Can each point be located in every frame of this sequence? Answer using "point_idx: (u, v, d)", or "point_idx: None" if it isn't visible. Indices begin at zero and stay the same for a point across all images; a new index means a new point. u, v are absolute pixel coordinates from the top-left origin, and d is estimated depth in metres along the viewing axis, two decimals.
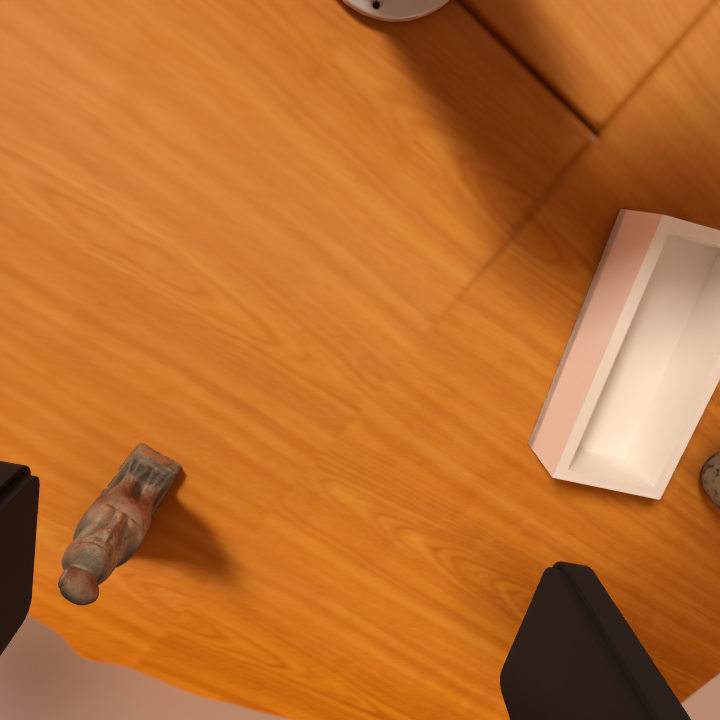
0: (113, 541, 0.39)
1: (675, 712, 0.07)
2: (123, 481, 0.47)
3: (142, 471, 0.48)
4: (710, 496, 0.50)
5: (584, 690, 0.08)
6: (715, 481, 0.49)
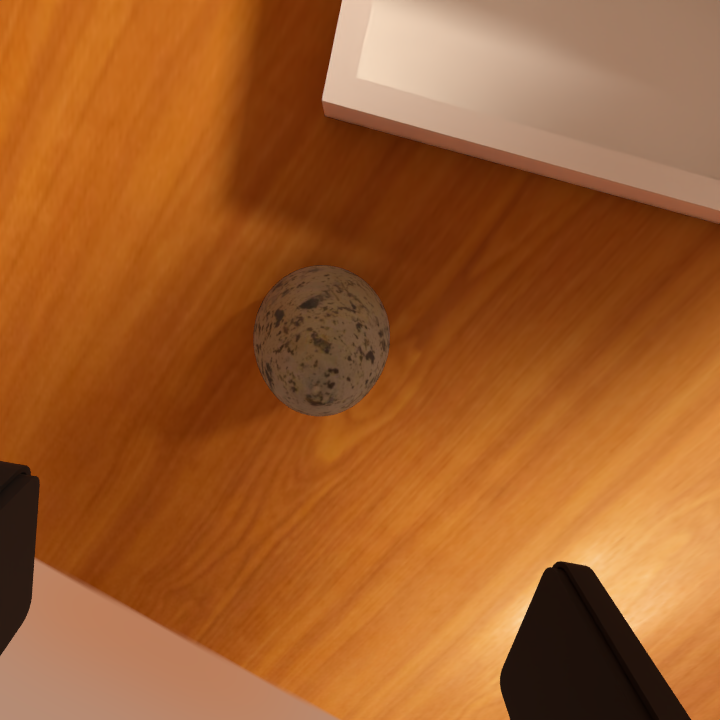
0: None
1: (675, 712, 0.07)
2: None
3: None
4: (292, 273, 0.23)
5: (584, 690, 0.08)
6: (334, 269, 0.23)
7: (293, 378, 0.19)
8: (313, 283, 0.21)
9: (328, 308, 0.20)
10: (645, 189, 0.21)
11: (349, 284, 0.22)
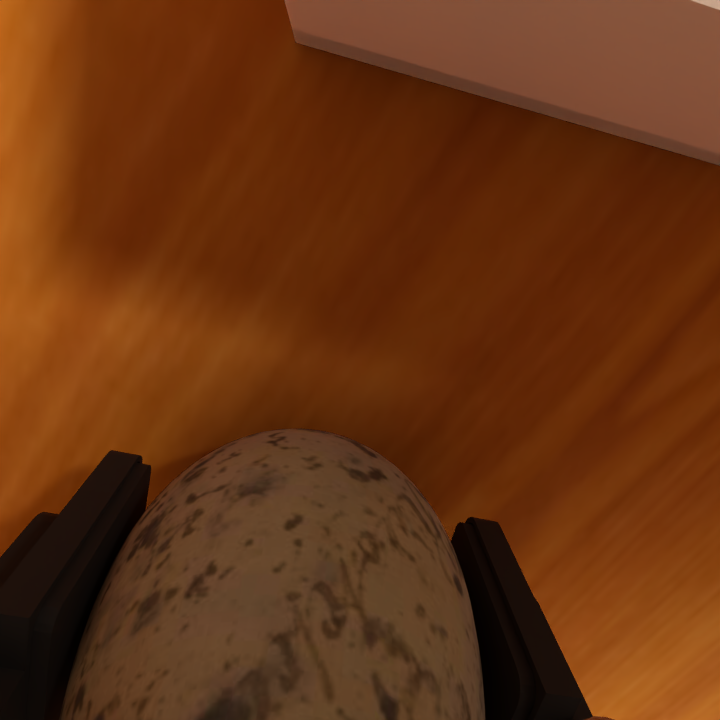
0: None
1: (543, 639, 0.08)
2: None
3: None
4: (200, 475, 0.08)
5: (475, 627, 0.09)
6: (320, 472, 0.08)
7: None
8: (244, 582, 0.06)
9: None
10: None
11: (366, 563, 0.07)
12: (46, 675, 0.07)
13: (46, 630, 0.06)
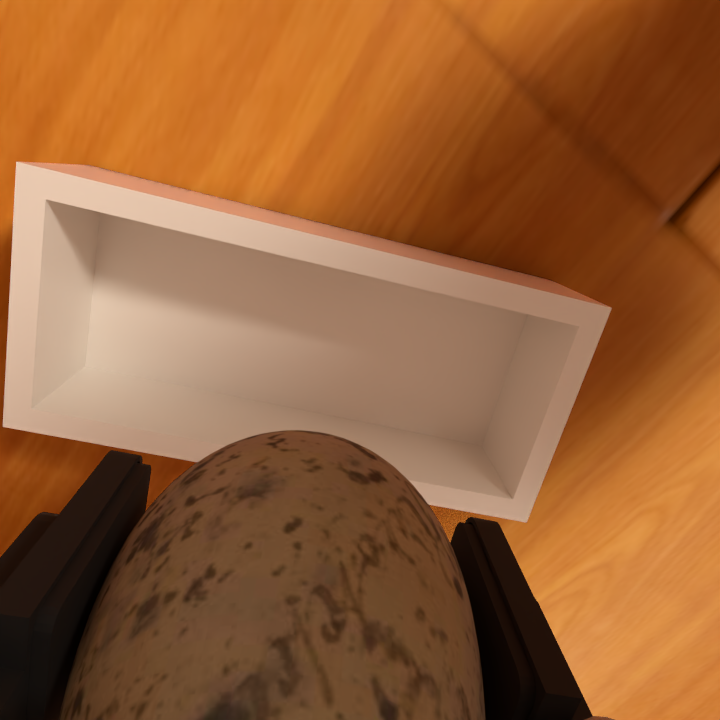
0: None
1: (543, 639, 0.08)
2: None
3: None
4: (200, 477, 0.08)
5: (475, 627, 0.09)
6: (320, 474, 0.08)
7: None
8: (243, 587, 0.06)
9: None
10: None
11: (365, 566, 0.07)
12: (46, 675, 0.07)
13: (46, 630, 0.06)
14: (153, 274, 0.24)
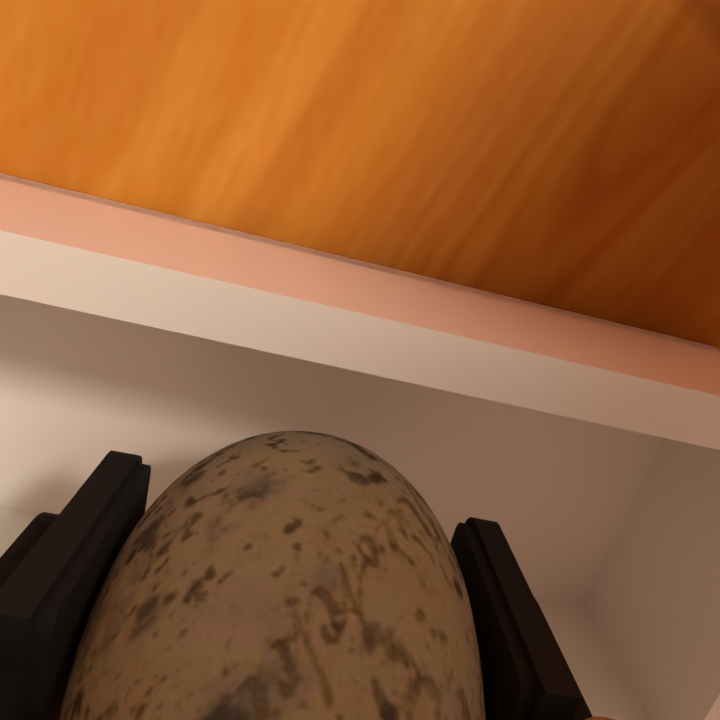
0: None
1: (543, 639, 0.08)
2: None
3: None
4: (200, 478, 0.08)
5: (475, 627, 0.09)
6: (320, 475, 0.08)
7: None
8: (243, 587, 0.06)
9: None
10: None
11: (365, 567, 0.07)
12: (46, 675, 0.07)
13: (46, 630, 0.06)
14: (30, 344, 0.14)
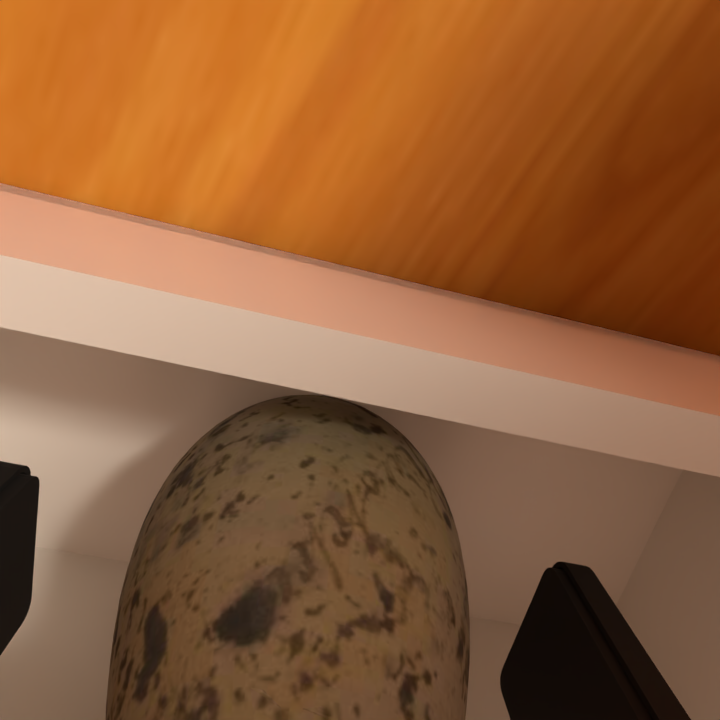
0: None
1: (675, 712, 0.07)
2: None
3: None
4: (226, 430, 0.10)
5: (584, 690, 0.08)
6: (328, 425, 0.09)
7: None
8: (268, 506, 0.07)
9: (307, 641, 0.06)
10: None
11: (368, 493, 0.08)
12: None
13: None
14: (0, 362, 0.13)
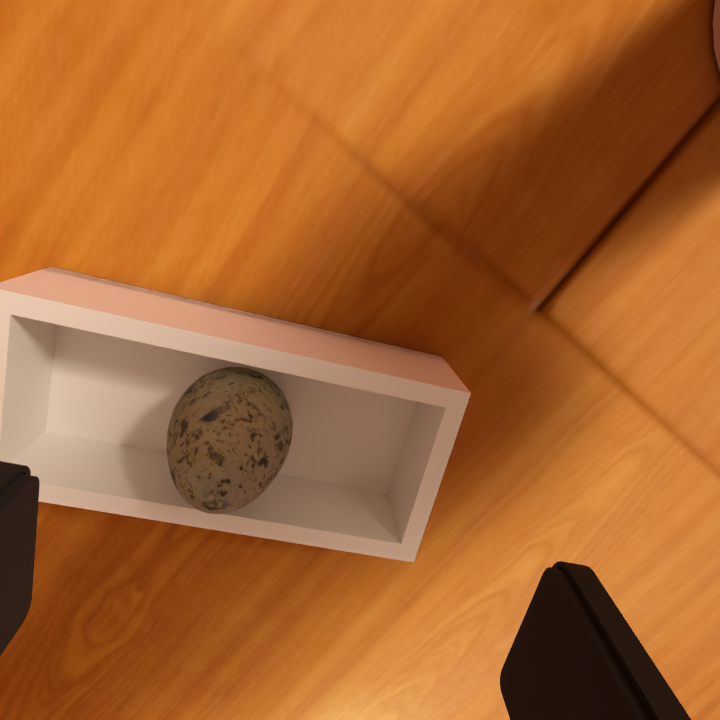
0: None
1: (675, 712, 0.07)
2: None
3: None
4: (204, 377, 0.26)
5: (584, 690, 0.08)
6: (241, 374, 0.26)
7: (191, 487, 0.21)
8: (217, 394, 0.24)
9: (226, 421, 0.23)
10: (238, 533, 0.28)
11: (250, 392, 0.25)
12: None
13: None
14: (104, 356, 0.29)
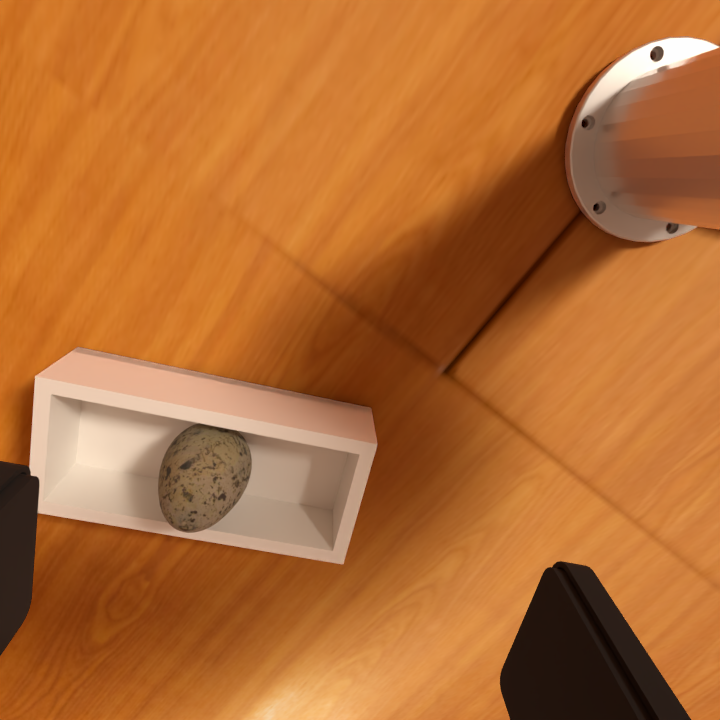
0: None
1: (675, 712, 0.07)
2: None
3: None
4: (186, 431, 0.37)
5: (584, 690, 0.08)
6: (211, 430, 0.37)
7: (171, 516, 0.32)
8: (192, 447, 0.35)
9: (196, 469, 0.33)
10: (213, 541, 0.38)
11: (216, 445, 0.35)
12: None
13: None
14: (117, 410, 0.40)
